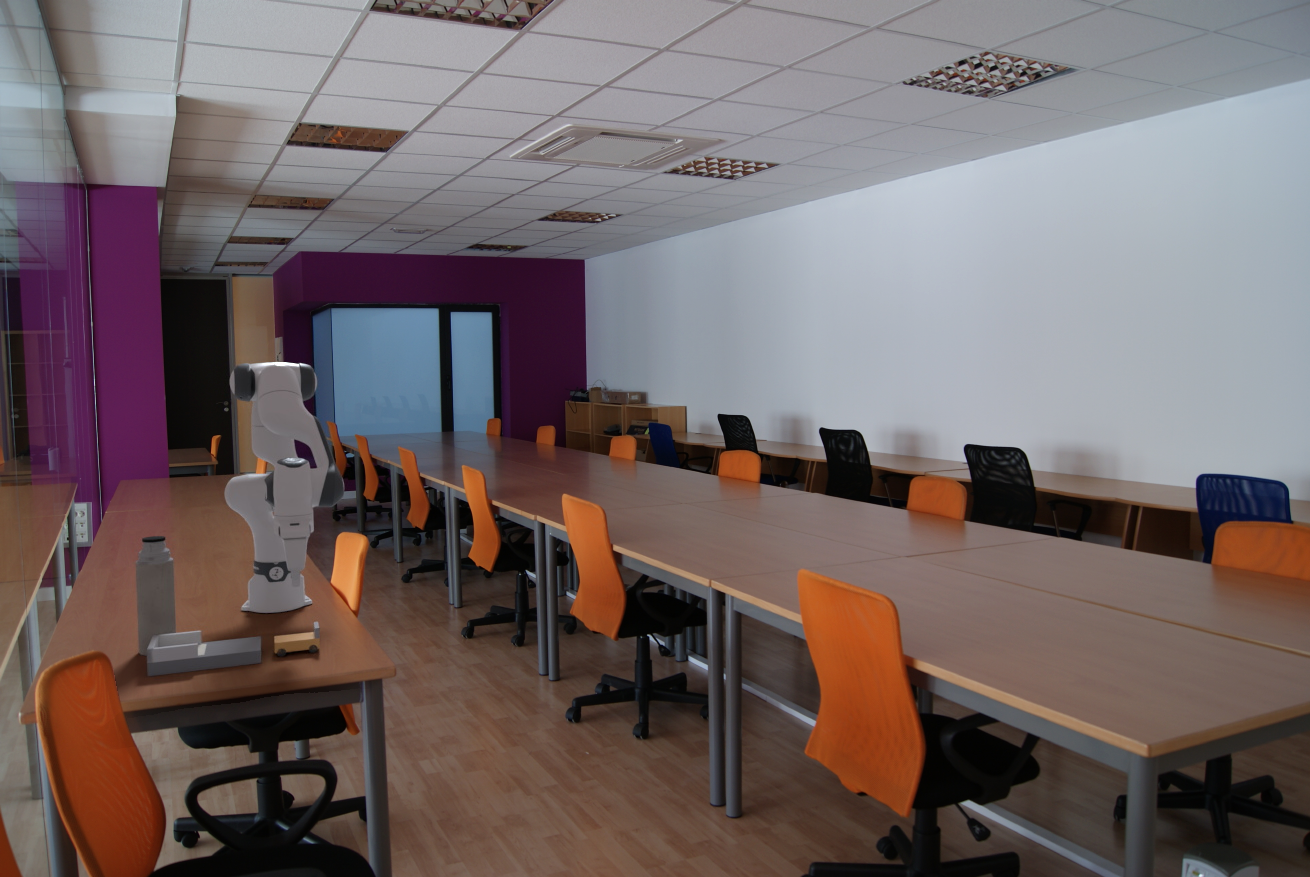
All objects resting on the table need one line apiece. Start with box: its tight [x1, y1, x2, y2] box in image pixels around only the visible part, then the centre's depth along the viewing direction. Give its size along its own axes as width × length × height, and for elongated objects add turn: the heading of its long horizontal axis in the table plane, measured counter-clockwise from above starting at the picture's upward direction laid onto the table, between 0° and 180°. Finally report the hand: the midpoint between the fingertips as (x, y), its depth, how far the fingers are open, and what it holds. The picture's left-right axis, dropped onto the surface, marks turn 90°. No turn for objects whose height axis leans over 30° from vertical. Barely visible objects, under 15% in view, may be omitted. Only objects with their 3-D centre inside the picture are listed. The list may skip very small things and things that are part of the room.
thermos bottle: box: [135, 535, 177, 657], centre depth 210 cm, size 8×8×28 cm
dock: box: [146, 630, 262, 677], centre depth 203 cm, size 12×23×6 cm, turn 114°
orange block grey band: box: [273, 621, 321, 658], centre depth 211 cm, size 6×10×6 cm, turn 114°
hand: (295, 582), depth 210 cm, fingers open, 8 cm apart
